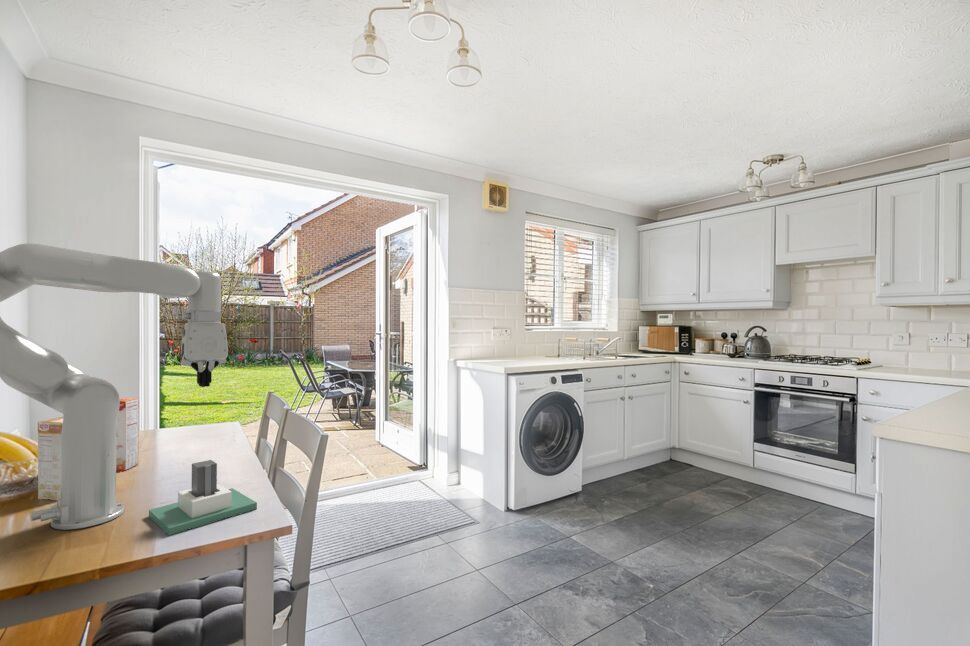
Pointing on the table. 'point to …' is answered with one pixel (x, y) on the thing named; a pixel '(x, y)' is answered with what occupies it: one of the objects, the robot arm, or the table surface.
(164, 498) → the table surface
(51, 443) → the coffeecake box
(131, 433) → the cracker box
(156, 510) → the board
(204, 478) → the plug
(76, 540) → the table surface
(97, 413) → the robot arm
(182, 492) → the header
